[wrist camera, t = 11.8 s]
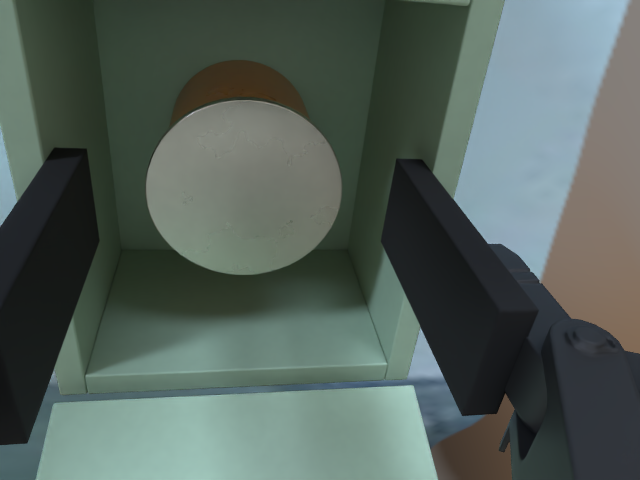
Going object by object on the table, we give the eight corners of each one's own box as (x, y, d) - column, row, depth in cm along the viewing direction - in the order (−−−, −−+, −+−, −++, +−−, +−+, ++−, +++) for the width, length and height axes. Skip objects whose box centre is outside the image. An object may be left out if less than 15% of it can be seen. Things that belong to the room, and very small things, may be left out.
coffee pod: (159, 44, 18) (136, 93, 13) (322, 56, 19) (354, 104, 14) (167, 193, 21) (151, 276, 16) (308, 196, 22) (331, 274, 17)
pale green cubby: (61, -92, 16) (-50, -89, 10) (409, -53, 18) (513, -29, 12) (106, 254, 23) (59, 395, 16) (358, 254, 25) (407, 379, 18)
